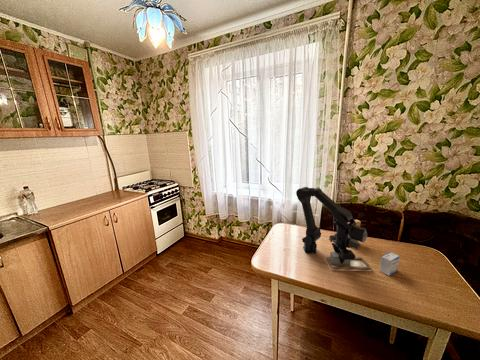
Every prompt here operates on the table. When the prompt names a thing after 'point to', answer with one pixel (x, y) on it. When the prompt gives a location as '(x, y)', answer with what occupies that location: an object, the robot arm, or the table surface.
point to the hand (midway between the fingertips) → (339, 260)
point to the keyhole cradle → (351, 265)
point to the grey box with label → (337, 259)
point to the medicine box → (389, 263)
